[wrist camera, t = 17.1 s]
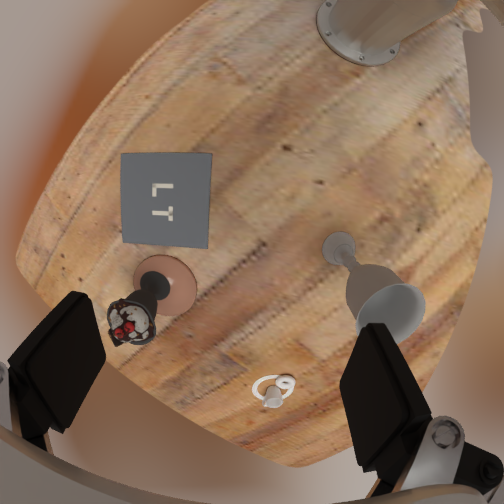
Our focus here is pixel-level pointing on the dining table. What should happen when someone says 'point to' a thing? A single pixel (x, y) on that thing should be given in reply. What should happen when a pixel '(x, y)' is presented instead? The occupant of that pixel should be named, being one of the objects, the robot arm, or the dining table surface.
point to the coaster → (179, 280)
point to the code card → (166, 198)
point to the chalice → (375, 291)
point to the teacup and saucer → (275, 390)
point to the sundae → (137, 311)
